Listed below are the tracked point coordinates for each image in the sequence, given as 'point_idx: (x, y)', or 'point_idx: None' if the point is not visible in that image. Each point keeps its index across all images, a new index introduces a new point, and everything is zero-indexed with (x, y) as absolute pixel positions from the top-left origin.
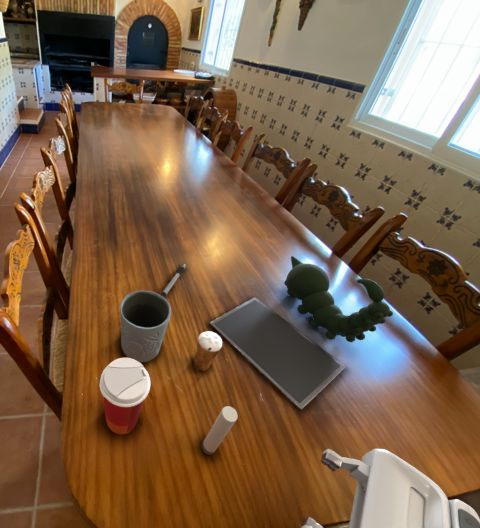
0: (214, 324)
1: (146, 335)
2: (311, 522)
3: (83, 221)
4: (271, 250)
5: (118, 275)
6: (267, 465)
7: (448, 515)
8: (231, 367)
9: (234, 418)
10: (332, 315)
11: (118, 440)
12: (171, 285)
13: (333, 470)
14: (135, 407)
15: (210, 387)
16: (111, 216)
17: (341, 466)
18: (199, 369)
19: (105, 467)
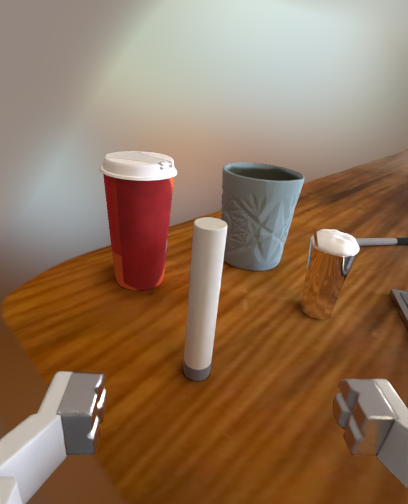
0: (398, 293)
1: (236, 192)
2: (87, 374)
3: (314, 182)
4: None
5: (302, 215)
6: (272, 484)
7: None
8: (372, 345)
9: (208, 227)
10: None
11: (109, 286)
12: (368, 240)
13: (352, 448)
14: (122, 196)
15: (297, 334)
16: (356, 188)
17: (398, 463)
18: (303, 309)
19: (67, 290)
